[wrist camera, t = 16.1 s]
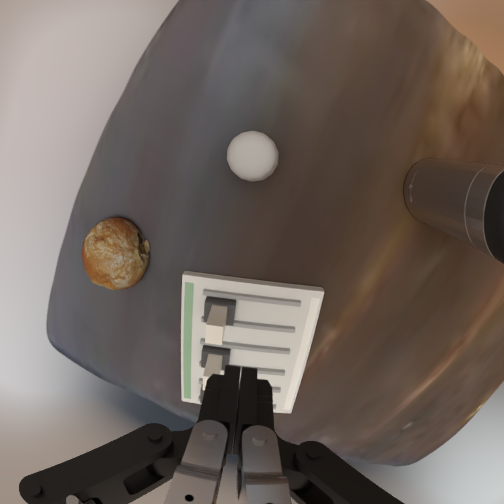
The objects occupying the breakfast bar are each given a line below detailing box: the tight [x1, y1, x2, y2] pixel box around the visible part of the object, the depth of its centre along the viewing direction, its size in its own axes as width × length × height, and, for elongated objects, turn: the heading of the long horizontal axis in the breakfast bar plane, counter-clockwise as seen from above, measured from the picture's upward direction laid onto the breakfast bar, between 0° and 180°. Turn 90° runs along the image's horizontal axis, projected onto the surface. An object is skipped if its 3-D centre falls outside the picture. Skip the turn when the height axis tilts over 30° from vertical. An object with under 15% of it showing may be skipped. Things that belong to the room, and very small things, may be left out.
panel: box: [181, 271, 324, 413], centre depth 43 cm, size 19×24×2 cm
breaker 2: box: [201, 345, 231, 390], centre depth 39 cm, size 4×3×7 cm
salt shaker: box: [227, 131, 279, 182], centre depth 30 cm, size 6×6×13 cm
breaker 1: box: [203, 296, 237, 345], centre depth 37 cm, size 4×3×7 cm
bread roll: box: [82, 217, 150, 290], centre depth 38 cm, size 10×10×8 cm
